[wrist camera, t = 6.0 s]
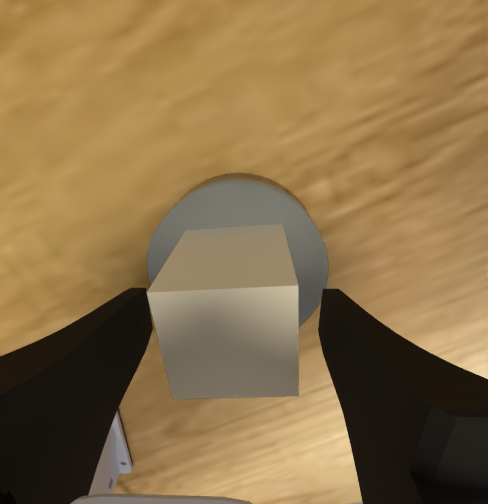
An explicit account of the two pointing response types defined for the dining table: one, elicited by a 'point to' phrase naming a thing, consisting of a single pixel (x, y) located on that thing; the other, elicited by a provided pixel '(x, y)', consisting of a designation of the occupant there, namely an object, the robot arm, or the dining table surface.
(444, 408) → the robot arm
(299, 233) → the grey disc
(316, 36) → the dining table surface
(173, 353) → the cream block
